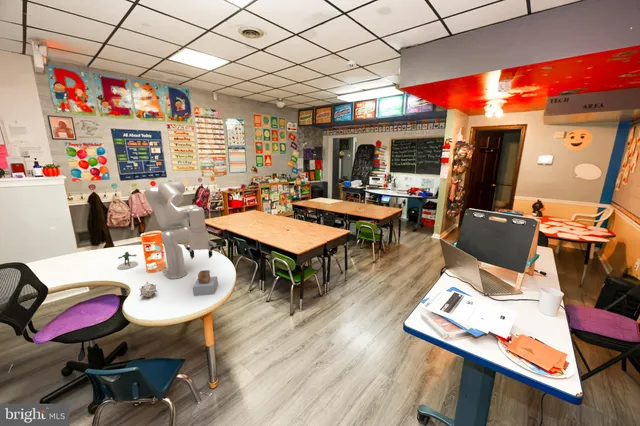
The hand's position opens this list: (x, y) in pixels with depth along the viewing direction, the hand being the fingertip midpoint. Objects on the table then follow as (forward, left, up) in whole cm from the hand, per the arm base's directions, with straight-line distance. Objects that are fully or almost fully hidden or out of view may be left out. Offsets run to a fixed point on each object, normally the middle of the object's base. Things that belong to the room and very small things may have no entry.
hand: (201, 257), depth 144 cm
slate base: (0, 0, -21) cm, 21 cm away
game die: (-30, -3, -21) cm, 37 cm away
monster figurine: (-66, +40, -21) cm, 80 cm away
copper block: (0, 0, -15) cm, 15 cm away
